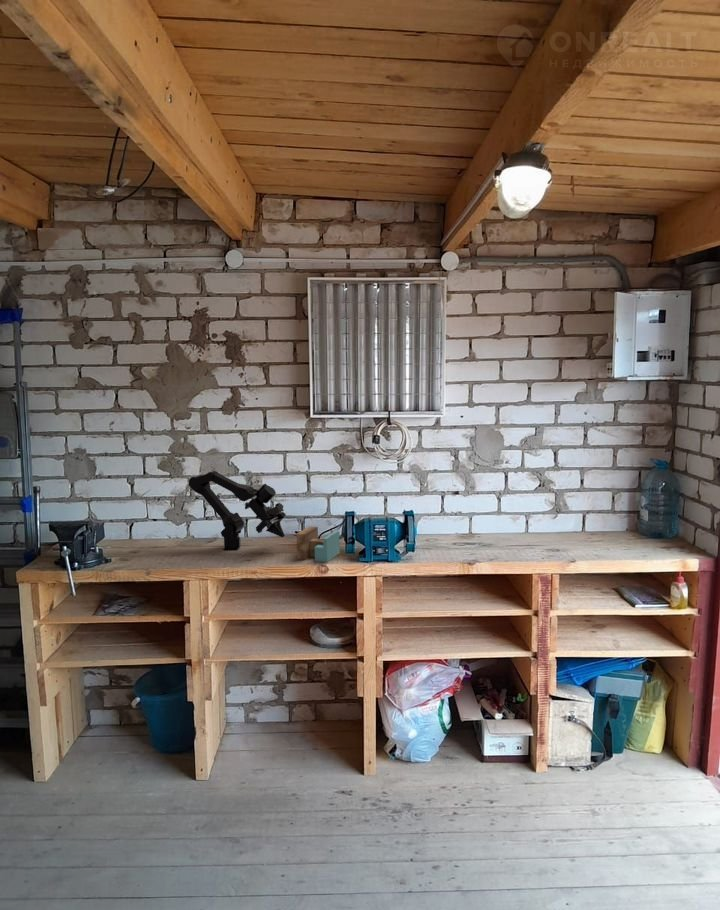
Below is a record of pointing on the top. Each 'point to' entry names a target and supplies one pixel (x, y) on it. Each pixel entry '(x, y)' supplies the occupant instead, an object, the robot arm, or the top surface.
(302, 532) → the walnut t block
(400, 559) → the top surface
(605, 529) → the top surface
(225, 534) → the robot arm
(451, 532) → the top surface
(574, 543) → the top surface
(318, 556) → the teal block
